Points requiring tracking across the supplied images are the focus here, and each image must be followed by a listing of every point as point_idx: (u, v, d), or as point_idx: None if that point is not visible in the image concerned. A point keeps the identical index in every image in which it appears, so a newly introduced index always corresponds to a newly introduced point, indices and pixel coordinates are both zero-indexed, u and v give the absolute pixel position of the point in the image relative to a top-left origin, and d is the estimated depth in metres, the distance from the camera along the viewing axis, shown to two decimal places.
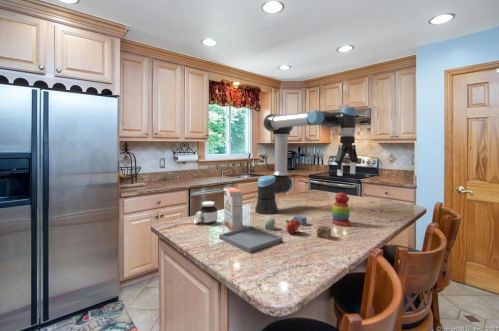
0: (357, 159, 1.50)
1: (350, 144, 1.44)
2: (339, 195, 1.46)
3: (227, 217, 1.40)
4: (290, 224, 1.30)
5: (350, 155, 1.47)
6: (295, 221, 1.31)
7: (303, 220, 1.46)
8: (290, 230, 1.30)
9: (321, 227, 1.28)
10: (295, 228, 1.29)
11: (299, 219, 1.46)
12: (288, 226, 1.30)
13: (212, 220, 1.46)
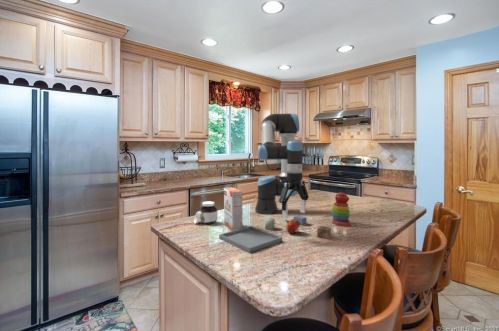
0: (308, 196, 1.36)
1: (298, 181, 1.31)
2: (339, 195, 1.46)
3: (227, 217, 1.40)
4: (290, 224, 1.30)
5: (299, 192, 1.34)
6: (295, 221, 1.31)
7: (303, 220, 1.46)
8: (290, 230, 1.30)
9: (321, 227, 1.28)
10: (295, 228, 1.29)
11: (299, 219, 1.46)
12: (288, 226, 1.30)
13: (212, 220, 1.46)
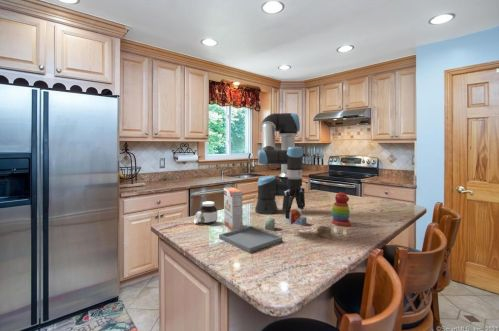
0: (304, 205, 1.36)
1: None
2: (339, 195, 1.46)
3: (227, 217, 1.40)
4: None
5: (297, 199, 1.33)
6: (295, 211, 1.31)
7: (303, 220, 1.46)
8: None
9: (321, 227, 1.28)
10: (295, 218, 1.29)
11: None
12: None
13: (212, 220, 1.46)
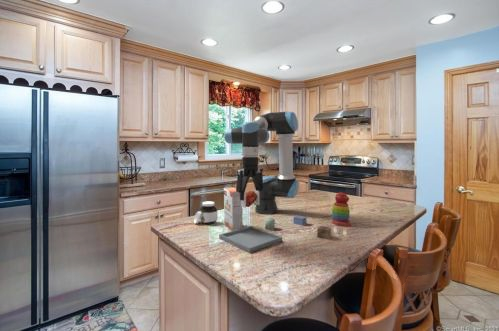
0: (263, 187, 1.25)
1: (254, 165, 1.21)
2: (339, 195, 1.46)
3: (227, 217, 1.40)
4: None
5: (254, 180, 1.23)
6: (251, 193, 1.20)
7: (303, 220, 1.46)
8: None
9: (321, 227, 1.28)
10: (250, 200, 1.18)
11: (299, 219, 1.46)
12: None
13: (212, 220, 1.46)
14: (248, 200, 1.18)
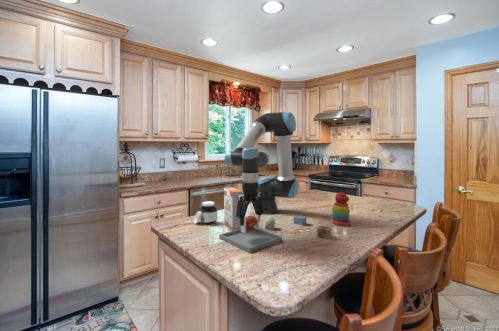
0: (262, 211, 1.25)
1: None
2: (339, 195, 1.46)
3: (227, 217, 1.40)
4: None
5: (254, 205, 1.23)
6: (251, 218, 1.21)
7: (303, 220, 1.46)
8: None
9: (321, 227, 1.28)
10: (250, 225, 1.19)
11: (299, 219, 1.46)
12: None
13: (212, 220, 1.46)
14: (248, 225, 1.19)
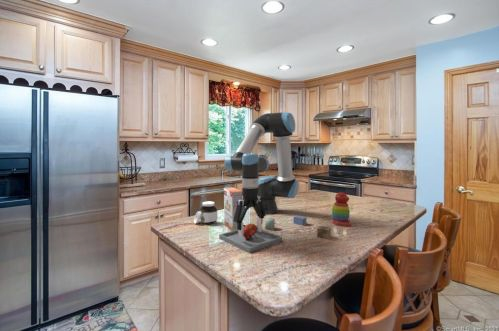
0: (265, 214, 1.27)
1: None
2: (339, 195, 1.46)
3: (227, 217, 1.40)
4: (246, 229, 1.20)
5: (255, 209, 1.24)
6: (251, 226, 1.21)
7: (304, 220, 1.46)
8: (246, 235, 1.20)
9: (321, 227, 1.28)
10: (251, 233, 1.19)
11: (300, 219, 1.46)
12: (244, 231, 1.21)
13: (212, 220, 1.46)
14: (248, 233, 1.19)
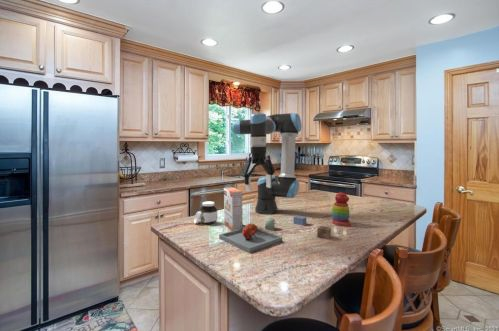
0: (274, 171, 1.34)
1: (262, 155, 1.28)
2: (339, 195, 1.46)
3: (227, 217, 1.40)
4: (246, 229, 1.20)
5: (264, 167, 1.31)
6: (251, 226, 1.21)
7: (304, 220, 1.46)
8: (246, 235, 1.20)
9: (321, 227, 1.28)
10: (251, 233, 1.19)
11: (300, 219, 1.46)
12: (244, 231, 1.21)
13: (212, 220, 1.46)
14: (248, 233, 1.19)
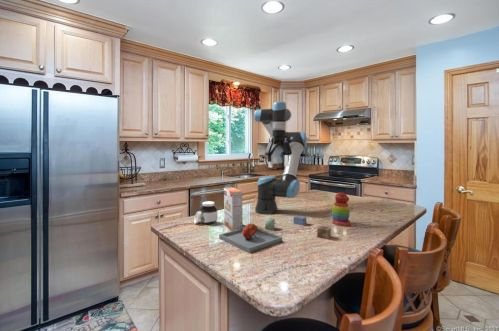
0: (291, 152, 1.56)
1: (282, 137, 1.50)
2: (339, 195, 1.46)
3: (227, 217, 1.40)
4: (246, 229, 1.20)
5: (283, 148, 1.54)
6: (251, 226, 1.21)
7: (304, 220, 1.46)
8: (246, 235, 1.20)
9: (321, 227, 1.28)
10: (251, 233, 1.19)
11: (300, 219, 1.46)
12: (244, 231, 1.21)
13: (212, 220, 1.46)
14: (248, 233, 1.19)
